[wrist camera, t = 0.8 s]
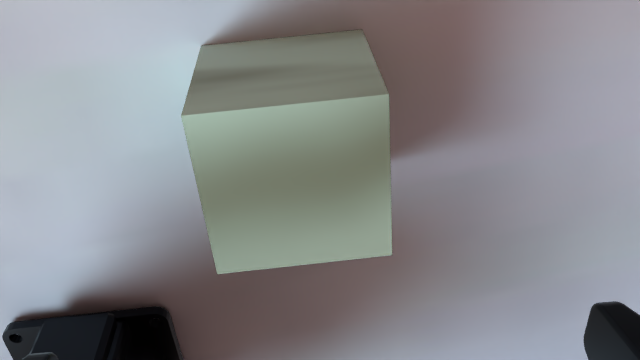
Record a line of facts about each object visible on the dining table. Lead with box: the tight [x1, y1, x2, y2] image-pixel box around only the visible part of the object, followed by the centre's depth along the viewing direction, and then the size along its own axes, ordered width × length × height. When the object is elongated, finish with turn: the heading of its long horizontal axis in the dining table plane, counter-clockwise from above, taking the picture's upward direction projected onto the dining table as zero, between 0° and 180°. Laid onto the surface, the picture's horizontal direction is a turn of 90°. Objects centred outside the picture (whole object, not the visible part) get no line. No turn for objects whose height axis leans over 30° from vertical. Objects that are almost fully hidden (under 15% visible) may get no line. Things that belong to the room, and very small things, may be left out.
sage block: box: [181, 29, 392, 274], centre depth 18 cm, size 5×5×5 cm
